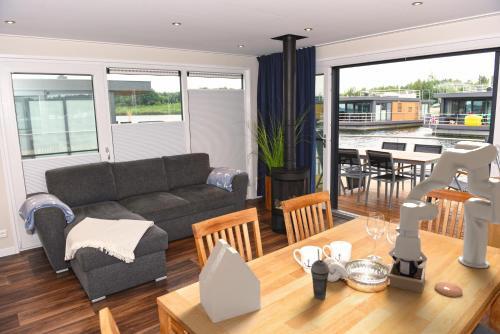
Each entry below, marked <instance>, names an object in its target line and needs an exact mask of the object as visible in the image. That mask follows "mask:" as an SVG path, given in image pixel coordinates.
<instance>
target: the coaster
mask: <svg viewBox="0 0 500 334" xmlns="http://www.w3.org/2000/svg"><path fill="white" fill-rule="evenodd" d="M434 290H435V291H436V292H437V293H439V294H441V295H443V296H447V297H452V298H453V297H454V298H455V297H461V296H462V295H463V289H462V288H461V287H460V286H459V285H457V284H455V283H451V282H446V281H439V282H436V283H434Z"/></svg>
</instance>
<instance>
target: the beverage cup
mask: <svg viewBox="0 0 500 334" xmlns="http://www.w3.org/2000/svg"><path fill="white" fill-rule="evenodd" d="M319 250H320V249H319V248H318V249H317V258H318V259H317V260H314V262H313V263H312V264H311V268H310V273H311V277H312V288H313V289H312V290H313V291H312V292H313V298H314V299H315V300H317V301H323V300H325V299H326V295H327V289H328V288H327V287H328V274H329V267H328V265H327V264H326V262H324V260H322V259H320V251H319Z"/></svg>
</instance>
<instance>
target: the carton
mask: <svg viewBox="0 0 500 334" xmlns="http://www.w3.org/2000/svg"><path fill="white" fill-rule="evenodd" d="M421 259H422V258H420V260H421ZM426 264H427V261H425V262H423V263H422V264H420V265H419V266H418V271H417V273H416V274H415V275H414V279H413V278H408V277H403V276H399V272H397V271H398V269H396V261H395V260H394V259H393V258H392V261H391V265H390V267H389V269H388V272H387V273H386V274H385V276H386V279H387V278H390V284H389V287H393V288H398V289H402V290H408V291H412V292H417V293H423V290H424V285H425V279H426V277H425V276H426V267H427V266H426Z"/></svg>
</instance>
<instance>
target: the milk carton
mask: <svg viewBox="0 0 500 334" xmlns="http://www.w3.org/2000/svg"><path fill="white" fill-rule="evenodd" d="M198 286H199V303H200V305H201V306H202V308H203V309H204V311H205V313H206V314H207V315H208V317H209V319H210V320H211V322H212V323H213V324H215V323H218V322H219V323H220V322H222V321H225V320H228V319H233V318H236V317H238V316H242V315H246V314H249V313H253V312H256V311H258V310H261V309H262V308H261V307H262V305H261V303H262V302H261V298H262V297H261V280H260V279H259V278H258V277H257V275H256V274H255V273H254V271H253V270H252V269H251V267H250V266H249V265H248V263H247V262H246V260H245V259H243V257H242V255H241V254H240V253H239V252H238V251H237V250H236V249H235V248H234V247H233V246H231V245H230V244H229V243H228V242H227V241H226V240H225V239H224V238H220V239H217V241H216V243H215V245H214V247H213V248H212V251H211V252H210V254H209V256H208V258H207V260H206V262H205V264H204V265H203V268H202V269H201V270H200V273H199V275H198Z"/></svg>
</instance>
